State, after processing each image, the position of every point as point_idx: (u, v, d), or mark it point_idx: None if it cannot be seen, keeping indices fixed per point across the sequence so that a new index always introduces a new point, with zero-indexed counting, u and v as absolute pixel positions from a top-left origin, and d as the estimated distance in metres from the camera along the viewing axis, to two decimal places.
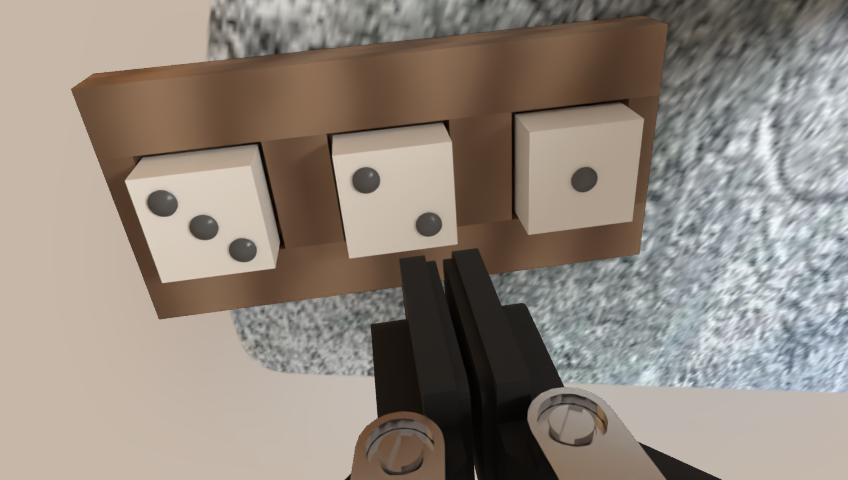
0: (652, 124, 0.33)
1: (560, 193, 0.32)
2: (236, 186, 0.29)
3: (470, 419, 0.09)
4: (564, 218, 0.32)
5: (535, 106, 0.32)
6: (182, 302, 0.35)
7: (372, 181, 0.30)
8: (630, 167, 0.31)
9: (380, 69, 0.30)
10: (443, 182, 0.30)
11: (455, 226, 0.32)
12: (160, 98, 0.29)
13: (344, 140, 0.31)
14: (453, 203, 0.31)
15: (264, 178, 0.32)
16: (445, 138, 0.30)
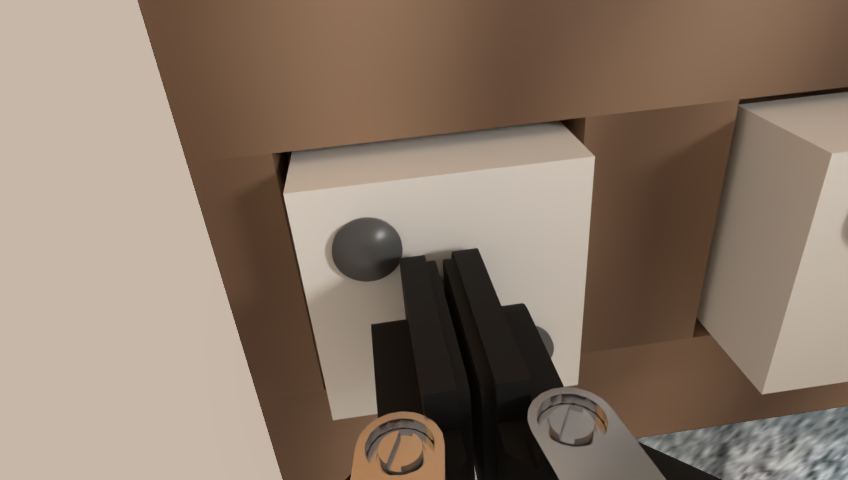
0: None
1: None
2: (548, 209, 0.12)
3: (470, 419, 0.09)
4: None
5: None
6: (338, 459, 0.17)
7: None
8: None
9: None
10: None
11: None
12: None
13: (792, 115, 0.12)
14: None
15: None
16: None
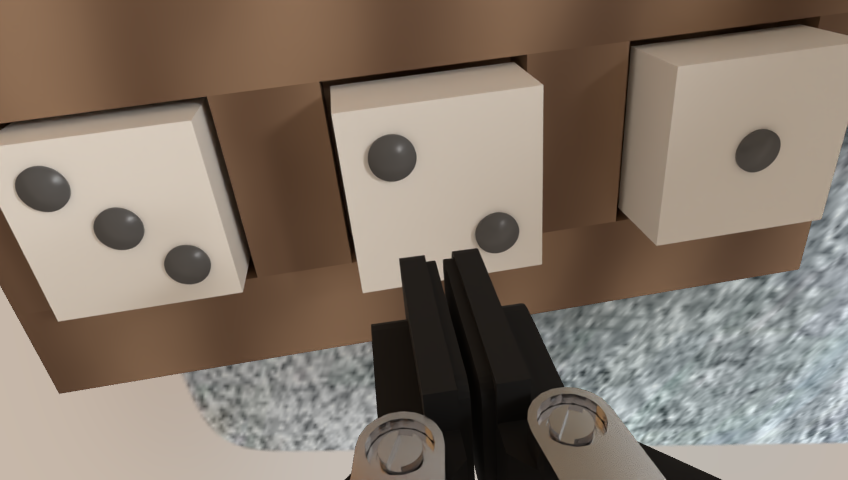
0: None
1: (715, 176, 0.19)
2: (170, 158, 0.17)
3: (470, 419, 0.09)
4: (716, 217, 0.20)
5: (669, 30, 0.19)
6: (95, 366, 0.22)
7: (403, 159, 0.17)
8: (834, 128, 0.19)
9: None
10: (524, 159, 0.18)
11: (540, 234, 0.19)
12: (16, 17, 0.16)
13: (351, 91, 0.18)
14: (539, 196, 0.18)
15: None
16: (529, 81, 0.17)
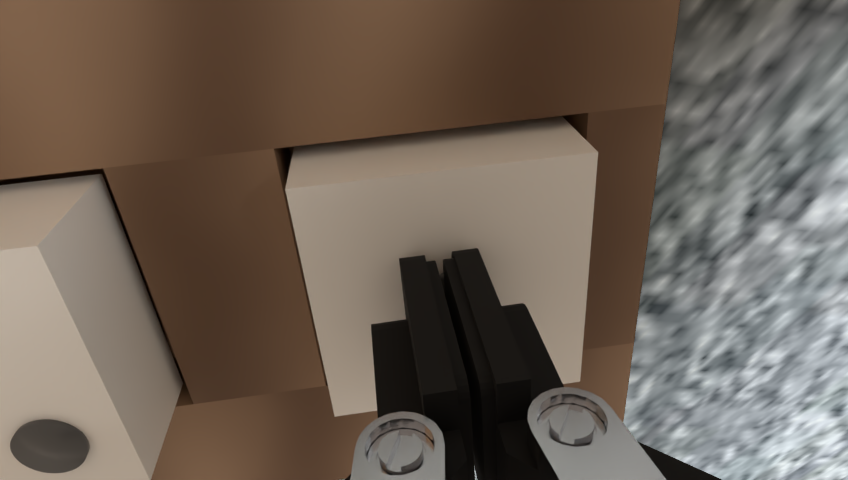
0: (648, 176, 0.13)
1: None
2: None
3: (470, 419, 0.09)
4: None
5: (337, 133, 0.12)
6: None
7: None
8: (569, 269, 0.13)
9: None
10: (55, 350, 0.11)
11: (130, 445, 0.12)
12: None
13: None
14: (104, 397, 0.11)
15: None
16: (37, 231, 0.10)
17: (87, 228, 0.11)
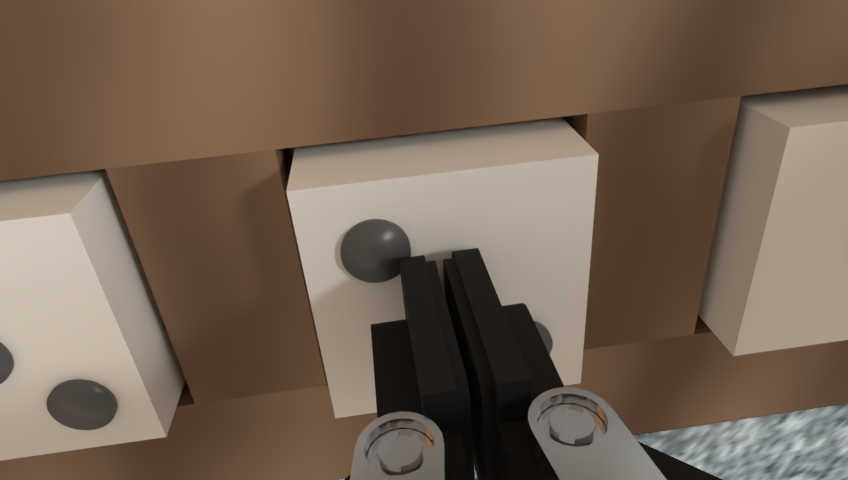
0: None
1: (823, 270, 0.14)
2: (42, 265, 0.11)
3: (470, 419, 0.09)
4: (818, 321, 0.14)
5: (801, 82, 0.13)
6: None
7: (390, 253, 0.12)
8: None
9: None
10: (565, 253, 0.12)
11: (580, 347, 0.14)
12: None
13: (323, 148, 0.13)
14: (582, 299, 0.13)
15: None
16: (577, 145, 0.12)
17: None
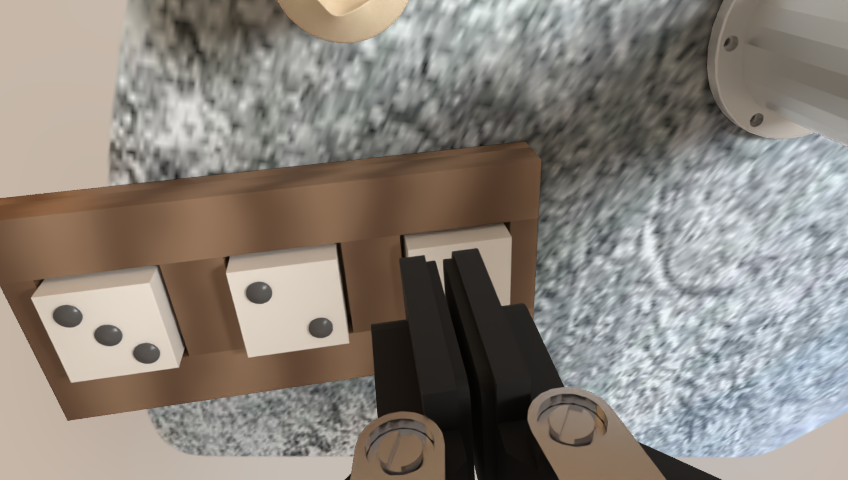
0: (534, 242, 0.36)
1: None
2: (137, 300, 0.32)
3: (470, 419, 0.09)
4: None
5: (422, 229, 0.34)
6: (90, 404, 0.36)
7: (264, 293, 0.33)
8: (503, 276, 0.35)
9: (271, 201, 0.32)
10: (331, 292, 0.34)
11: (345, 328, 0.35)
12: (58, 230, 0.31)
13: None
14: (342, 309, 0.34)
15: None
16: (332, 254, 0.33)
17: (337, 253, 0.34)
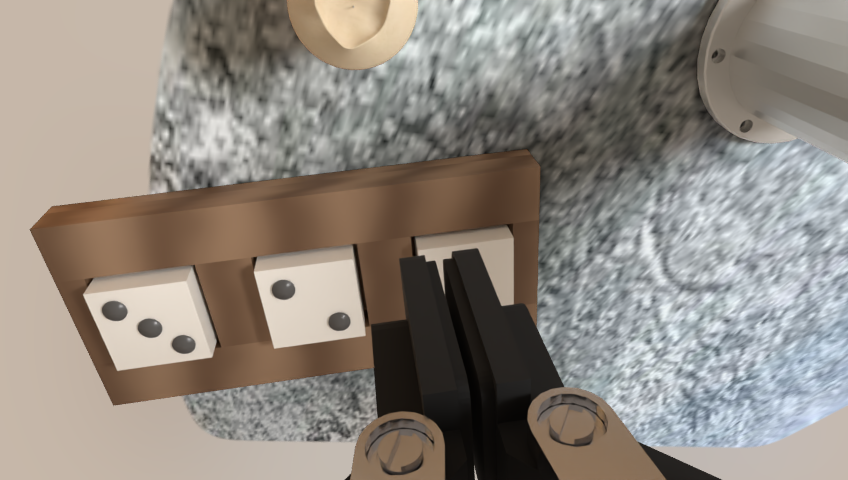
0: (535, 242, 0.38)
1: None
2: (176, 297, 0.36)
3: (470, 419, 0.09)
4: None
5: (431, 231, 0.37)
6: (133, 391, 0.40)
7: (288, 290, 0.36)
8: (506, 274, 0.38)
9: (293, 207, 0.35)
10: (349, 289, 0.37)
11: (362, 322, 0.38)
12: (106, 234, 0.34)
13: None
14: (359, 305, 0.38)
15: None
16: (349, 254, 0.36)
17: (353, 253, 0.37)
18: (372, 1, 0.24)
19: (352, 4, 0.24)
